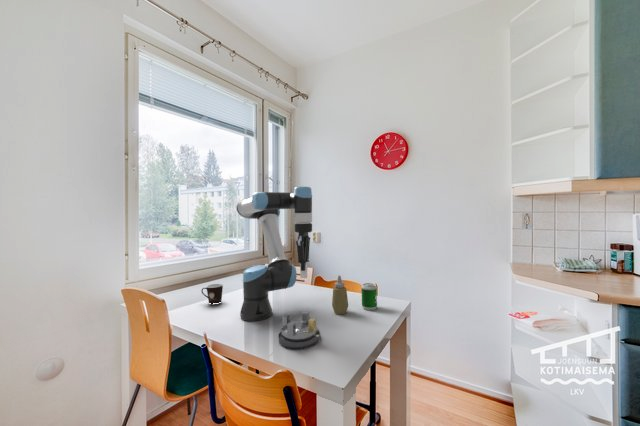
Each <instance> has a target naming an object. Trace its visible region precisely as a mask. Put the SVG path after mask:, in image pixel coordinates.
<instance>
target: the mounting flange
mask: <svg viewBox="0 0 640 426" xmlns="http://www.w3.org/2000/svg"><path fill="white" fill-rule="evenodd" d="M320 341H321V333H320V330H319V329H318V328H317V334H316V335H315V336H314V337H313V338H311V339H309V340H306V341H300V342H293V341H288V340H286V339H284V338H283V337H282V330H281V331H280V332H279V333H278V343H279V345H280V346H281V347H282V348H284V347H285V348H284V349H287V350H292V351H293V350H295V351H298V350H299V351H300V350H305V349H306V350H307V349H309V348H312V347H314V346H316V345H317V344H318V343H319V342H320Z"/></svg>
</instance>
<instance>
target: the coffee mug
mask: <svg viewBox="0 0 640 426" xmlns="http://www.w3.org/2000/svg"><path fill="white" fill-rule="evenodd" d="M223 288H224V285H223V283H211V284H208V285H206V287H202V288H201V294H202V295H203V296H204V297H206V298H207V300H208V304H209V303H211V304H213V303H219V302H221V303H222V299H223ZM203 290H206V292H207V295H206V294H205V293H204V292H203Z"/></svg>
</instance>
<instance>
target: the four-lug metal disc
mask: <svg viewBox="0 0 640 426" xmlns="http://www.w3.org/2000/svg"><path fill="white" fill-rule="evenodd" d="M290 318H291V316H290V314H284V315H283V316H282V319H281V321H282V327H281V331H282V337H283V338H284V339H286V340H288V341H293V342H300V341H306V340H309V339H311V338H313V337H314V336H315V335H316V334H317V329H318V327H317V319H316V318H310V311H305V310H304V311H302V312H301V320H295V321H291V319H290Z"/></svg>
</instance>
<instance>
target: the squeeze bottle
mask: <svg viewBox="0 0 640 426" xmlns="http://www.w3.org/2000/svg"><path fill="white" fill-rule="evenodd" d="M336 281H337V282H335V283H334V287H332V299H331V300H332V301H331V306H332V309H333V312H334V314H336V315H345V314H346V313H347V311H348V307H349V299H348V290H347V288H346V287H345V282H343V281H342V276H341V275H337V280H336Z"/></svg>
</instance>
